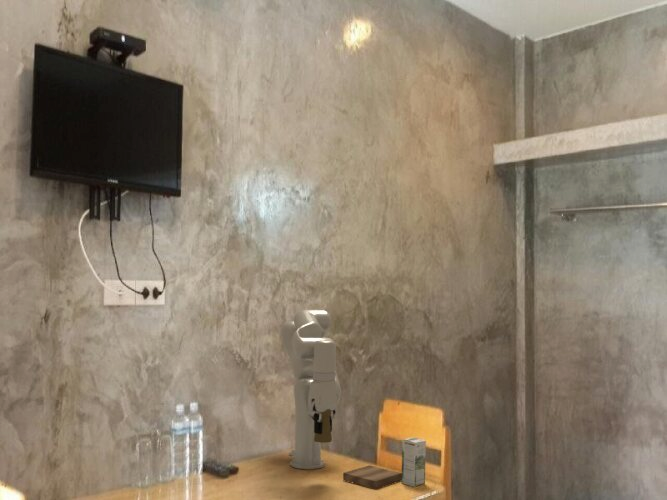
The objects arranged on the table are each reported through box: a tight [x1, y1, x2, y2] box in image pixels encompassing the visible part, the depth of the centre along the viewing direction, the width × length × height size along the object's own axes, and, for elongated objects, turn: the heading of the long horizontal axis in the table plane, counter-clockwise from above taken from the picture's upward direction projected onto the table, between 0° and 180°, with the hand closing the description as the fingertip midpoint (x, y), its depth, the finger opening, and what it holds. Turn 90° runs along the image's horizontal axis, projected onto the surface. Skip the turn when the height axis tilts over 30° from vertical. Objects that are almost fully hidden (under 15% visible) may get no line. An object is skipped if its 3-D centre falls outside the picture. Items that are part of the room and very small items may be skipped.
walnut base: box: [342, 464, 402, 490], centre depth 212 cm, size 14×14×2 cm
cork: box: [314, 409, 333, 444], centre depth 211 cm, size 6×6×11 cm
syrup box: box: [400, 437, 427, 487], centre depth 210 cm, size 6×6×14 cm
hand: (322, 431), depth 211 cm, fingers closed on cork, 4 cm apart
